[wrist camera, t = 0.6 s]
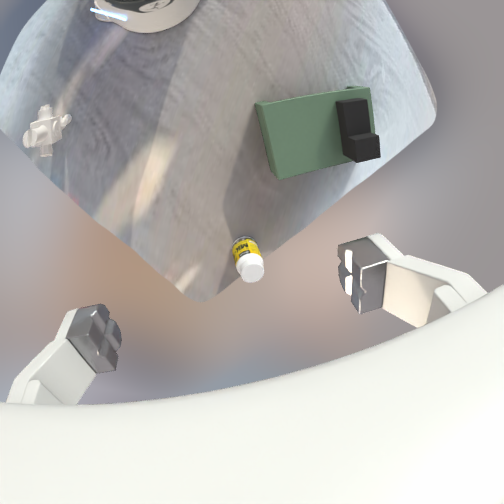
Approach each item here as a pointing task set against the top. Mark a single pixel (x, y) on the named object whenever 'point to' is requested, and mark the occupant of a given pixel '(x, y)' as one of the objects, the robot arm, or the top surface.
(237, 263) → the supplement bottle
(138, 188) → the top surface
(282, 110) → the block
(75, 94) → the top surface
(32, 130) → the toy robot
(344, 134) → the dark stepped block
